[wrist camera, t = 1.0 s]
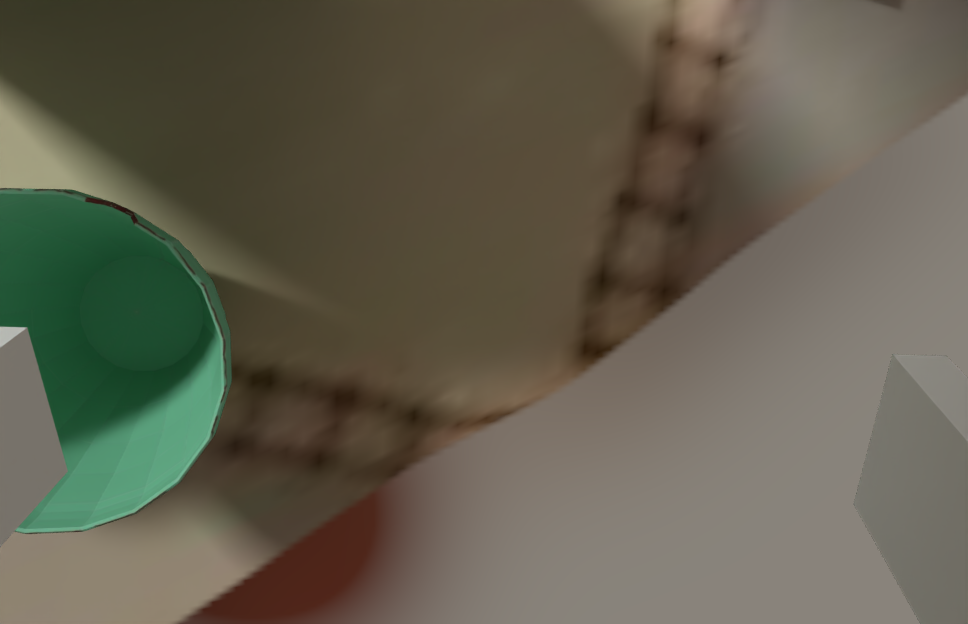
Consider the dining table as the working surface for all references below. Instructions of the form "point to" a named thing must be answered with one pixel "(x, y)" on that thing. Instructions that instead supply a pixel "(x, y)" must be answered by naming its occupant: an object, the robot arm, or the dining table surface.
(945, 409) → the robot arm
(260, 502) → the dining table surface
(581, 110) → the dining table surface
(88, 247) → the mug
